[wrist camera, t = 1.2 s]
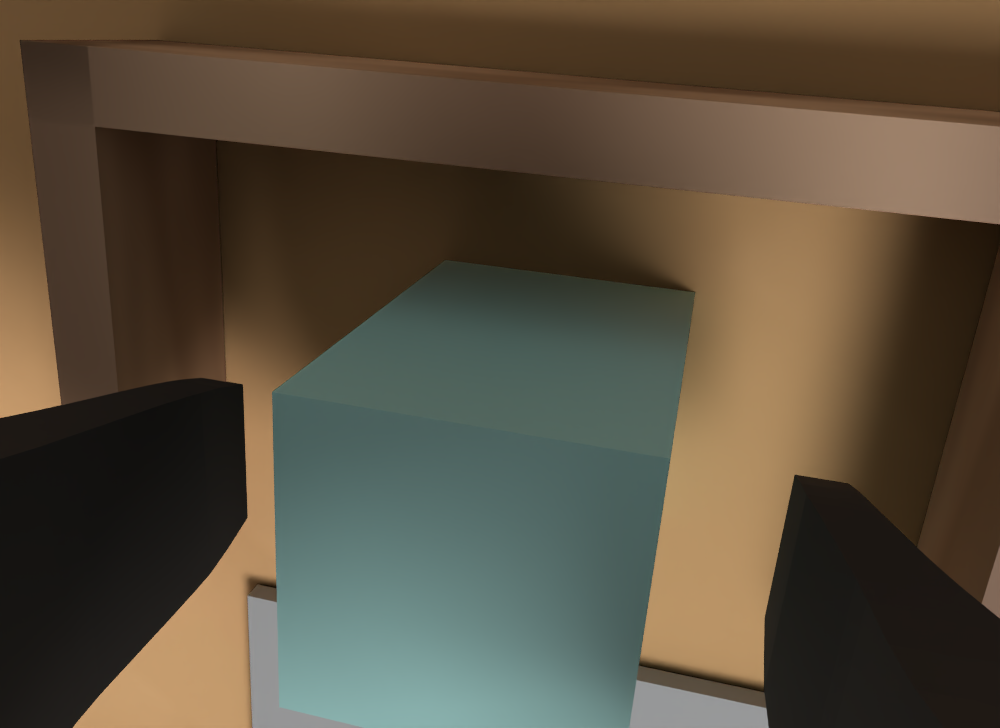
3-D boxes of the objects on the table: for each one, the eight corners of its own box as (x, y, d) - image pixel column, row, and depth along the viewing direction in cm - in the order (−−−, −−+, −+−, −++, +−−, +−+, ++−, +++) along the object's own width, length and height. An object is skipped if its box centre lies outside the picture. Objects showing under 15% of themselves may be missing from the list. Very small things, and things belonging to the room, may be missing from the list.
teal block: (694, 291, 14) (670, 458, 8) (660, 518, 15) (620, 790, 10) (445, 259, 15) (272, 391, 9) (435, 478, 16) (278, 706, 10)
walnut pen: (1118, 122, 12) (1237, 147, 9) (947, 680, 15) (996, 826, 12) (154, 39, 14) (20, 40, 12) (186, 526, 18) (85, 616, 15)
